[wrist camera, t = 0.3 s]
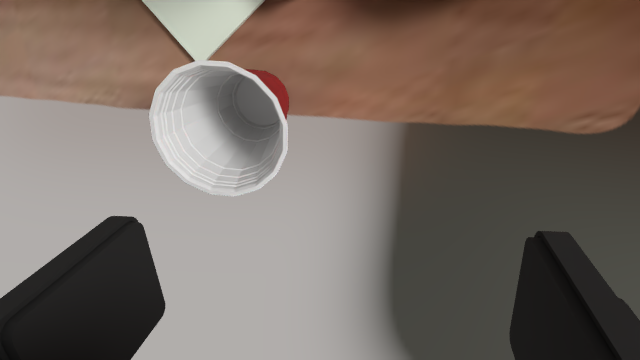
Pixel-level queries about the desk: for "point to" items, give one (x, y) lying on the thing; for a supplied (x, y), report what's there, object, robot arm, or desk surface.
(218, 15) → the sage mat
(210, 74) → the plastic cup
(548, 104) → the desk surface
